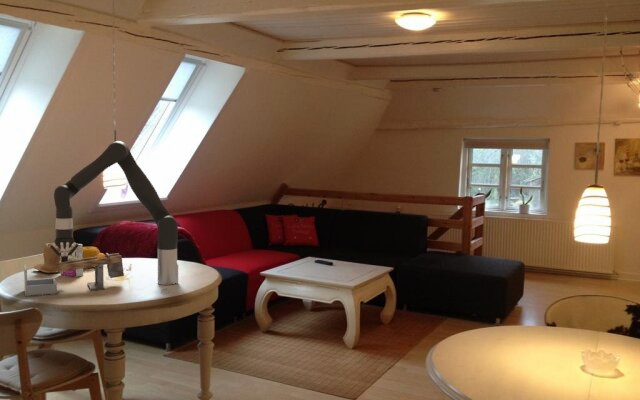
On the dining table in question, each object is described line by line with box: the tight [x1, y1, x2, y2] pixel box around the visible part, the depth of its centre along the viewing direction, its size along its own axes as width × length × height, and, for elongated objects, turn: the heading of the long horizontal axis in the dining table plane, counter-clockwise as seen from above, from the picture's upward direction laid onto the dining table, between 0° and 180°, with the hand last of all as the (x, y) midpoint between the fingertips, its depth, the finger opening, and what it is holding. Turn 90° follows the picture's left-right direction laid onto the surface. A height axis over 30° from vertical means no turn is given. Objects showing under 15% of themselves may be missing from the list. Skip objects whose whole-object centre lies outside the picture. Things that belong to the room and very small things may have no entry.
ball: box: [96, 252, 106, 259], centre depth 276 cm, size 4×4×4 cm
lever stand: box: [87, 263, 106, 292], centre depth 276 cm, size 6×13×12 cm, turn 29°
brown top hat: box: [32, 242, 60, 274], centre depth 307 cm, size 15×12×15 cm
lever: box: [56, 252, 125, 279], centre depth 277 cm, size 28×14×11 cm, turn 119°
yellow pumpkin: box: [83, 246, 101, 269], centre depth 320 cm, size 13×13×11 cm
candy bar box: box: [60, 243, 84, 278], centre depth 299 cm, size 11×5×16 cm, turn 65°
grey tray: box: [23, 264, 58, 297], centre depth 265 cm, size 13×13×12 cm
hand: (64, 263), depth 276 cm, fingers closed
